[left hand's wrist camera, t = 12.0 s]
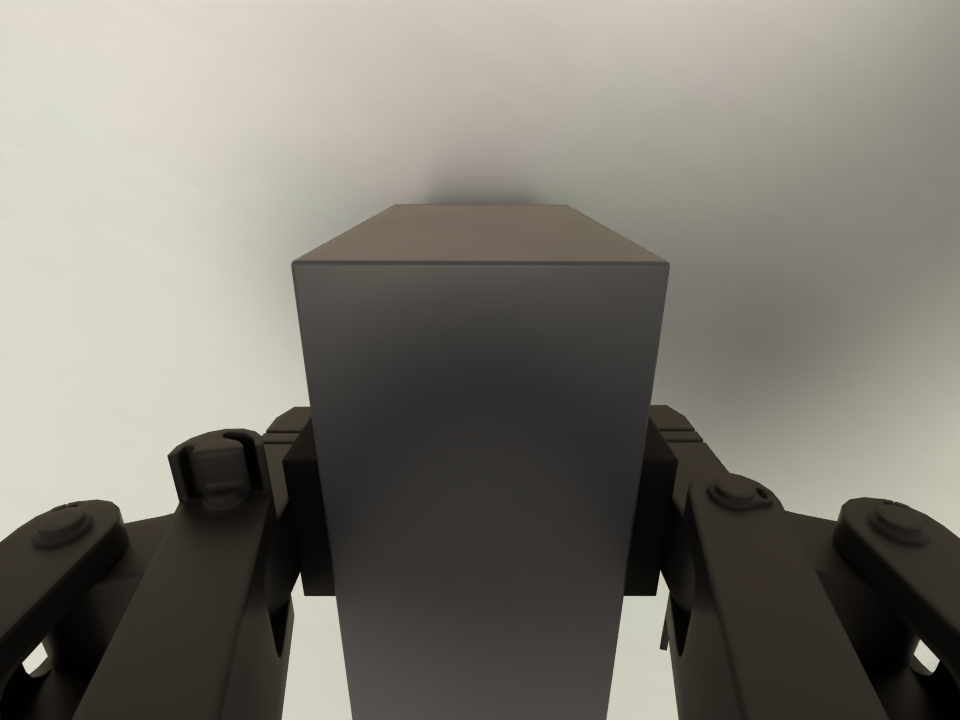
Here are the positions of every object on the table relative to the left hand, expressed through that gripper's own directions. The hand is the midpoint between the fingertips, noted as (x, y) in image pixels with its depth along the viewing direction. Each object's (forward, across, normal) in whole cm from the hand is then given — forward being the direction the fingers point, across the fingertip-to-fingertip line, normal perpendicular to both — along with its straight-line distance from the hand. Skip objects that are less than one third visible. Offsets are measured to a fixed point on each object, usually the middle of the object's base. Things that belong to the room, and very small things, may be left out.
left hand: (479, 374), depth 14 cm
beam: (+1, 0, -28) cm, 28 cm away
